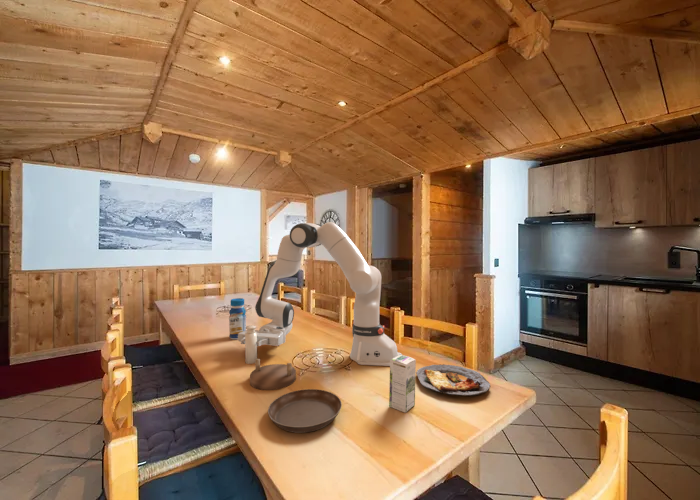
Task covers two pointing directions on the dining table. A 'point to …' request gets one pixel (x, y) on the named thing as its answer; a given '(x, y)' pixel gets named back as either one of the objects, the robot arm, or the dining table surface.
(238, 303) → the beverage bottle
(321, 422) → the plant saucer
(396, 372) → the syrup box
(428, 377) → the food plate
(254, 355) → the bud vase
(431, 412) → the dining table surface
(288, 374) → the pedestal
